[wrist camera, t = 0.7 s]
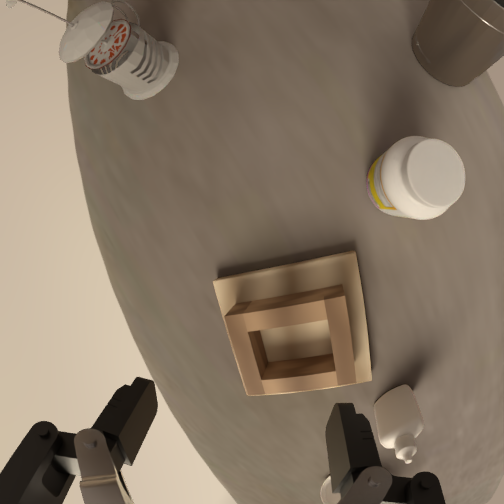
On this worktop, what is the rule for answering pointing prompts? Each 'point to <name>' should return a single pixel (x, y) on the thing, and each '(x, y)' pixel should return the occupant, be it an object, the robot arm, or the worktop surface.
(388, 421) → the eye dropper bottle
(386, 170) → the supplement bottle
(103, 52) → the french press
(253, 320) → the birch holder
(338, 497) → the spread jar
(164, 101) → the worktop surface
